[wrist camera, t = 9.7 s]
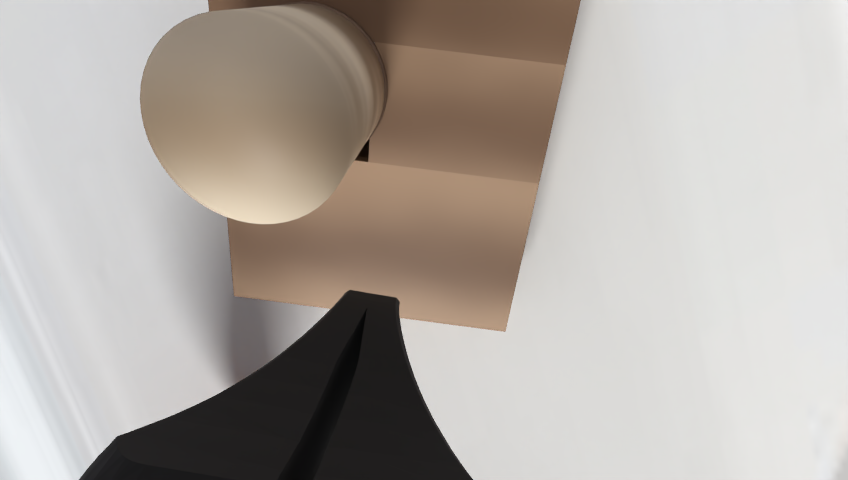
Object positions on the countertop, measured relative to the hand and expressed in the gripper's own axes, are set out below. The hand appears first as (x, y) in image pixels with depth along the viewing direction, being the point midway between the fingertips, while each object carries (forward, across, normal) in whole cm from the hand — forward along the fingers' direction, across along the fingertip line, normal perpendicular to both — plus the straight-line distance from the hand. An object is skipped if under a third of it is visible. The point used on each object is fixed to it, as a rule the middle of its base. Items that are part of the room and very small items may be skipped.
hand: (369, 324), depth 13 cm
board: (+10, +1, -2) cm, 10 cm away
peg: (+10, +4, -4) cm, 11 cm away
